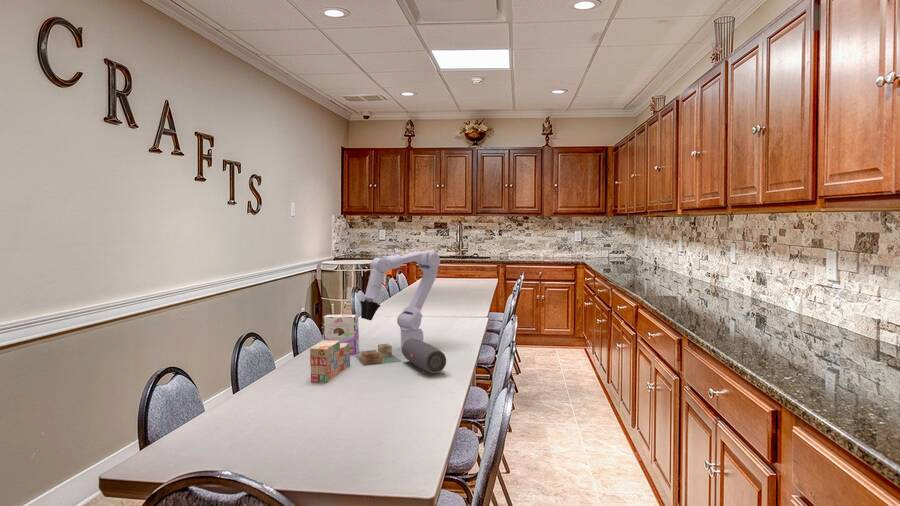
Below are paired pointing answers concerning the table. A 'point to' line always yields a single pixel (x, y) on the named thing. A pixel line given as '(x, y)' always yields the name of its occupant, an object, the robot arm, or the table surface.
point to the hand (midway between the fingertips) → (366, 319)
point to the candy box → (342, 330)
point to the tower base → (370, 361)
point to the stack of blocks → (328, 360)
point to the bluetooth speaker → (424, 355)
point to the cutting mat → (385, 360)
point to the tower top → (370, 354)
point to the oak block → (385, 350)
